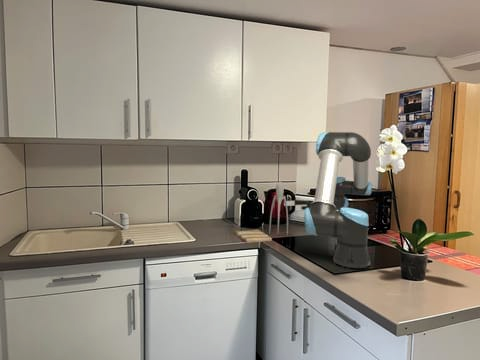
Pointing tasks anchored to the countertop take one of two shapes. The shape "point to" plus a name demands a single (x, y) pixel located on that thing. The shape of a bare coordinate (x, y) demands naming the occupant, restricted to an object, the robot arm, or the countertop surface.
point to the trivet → (253, 236)
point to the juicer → (279, 203)
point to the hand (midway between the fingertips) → (289, 205)
